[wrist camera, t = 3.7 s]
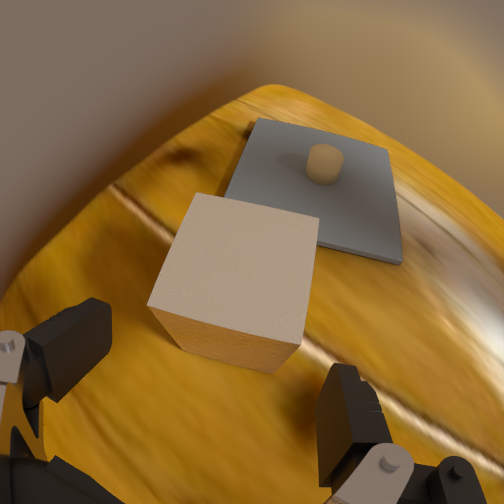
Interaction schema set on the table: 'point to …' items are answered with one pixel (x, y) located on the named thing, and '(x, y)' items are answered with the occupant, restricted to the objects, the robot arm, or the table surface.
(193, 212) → the block
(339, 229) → the mat
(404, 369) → the table surface
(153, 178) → the table surface
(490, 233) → the table surface
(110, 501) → the robot arm
